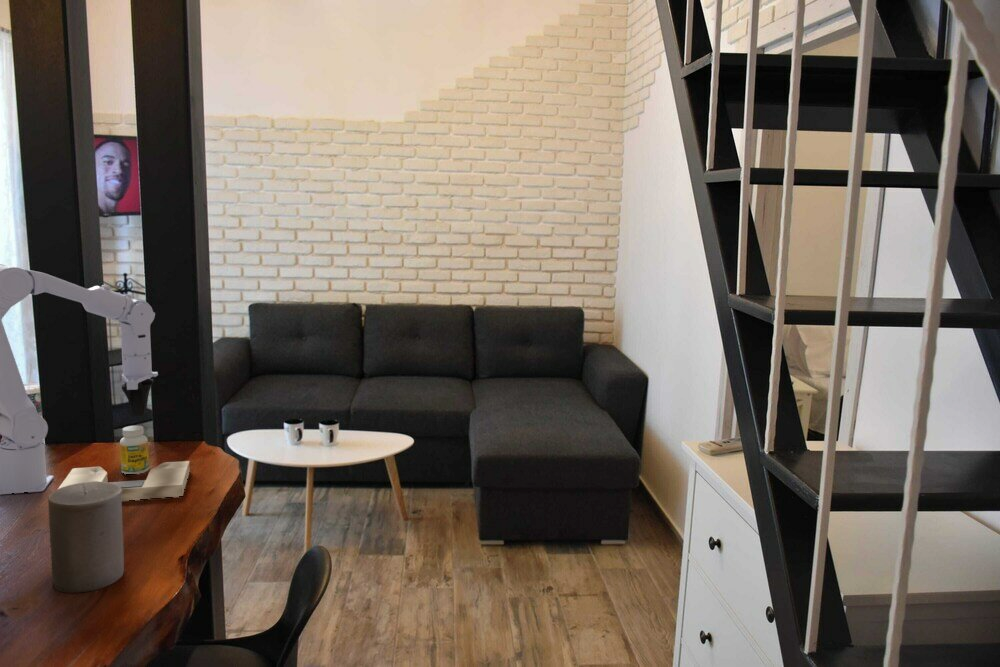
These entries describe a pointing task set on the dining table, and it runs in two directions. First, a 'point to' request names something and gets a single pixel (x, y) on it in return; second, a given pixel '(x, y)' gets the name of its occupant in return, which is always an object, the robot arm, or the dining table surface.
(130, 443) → the supplement bottle
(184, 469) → the jig block
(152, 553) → the dining table surface
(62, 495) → the pillar candle
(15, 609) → the dining table surface
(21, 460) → the robot arm
